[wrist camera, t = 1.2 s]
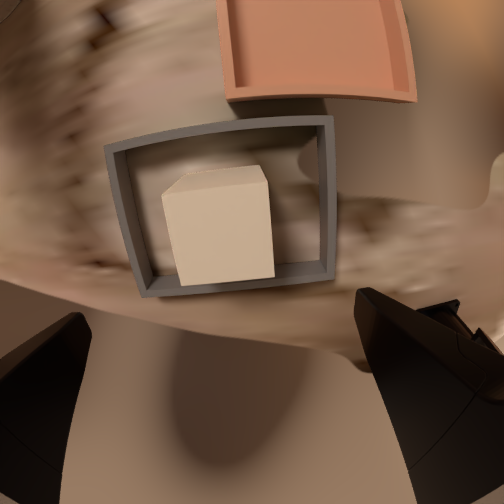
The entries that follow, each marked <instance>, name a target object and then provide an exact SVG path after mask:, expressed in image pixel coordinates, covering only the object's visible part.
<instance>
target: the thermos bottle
mask: <svg viewBox="0 0 504 504" xmlns="http://www.w3.org/2000/svg"><path fill="white" fill-rule="evenodd" d="M20 1H21V0H0V23H1V22H2V21H3V20H4V19H5V18H7V17H8V15H9V14H10V13H11V12H12V11H13V10H14V9H15V7H16V6H17V5H18V4H19V2H20Z"/></svg>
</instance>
